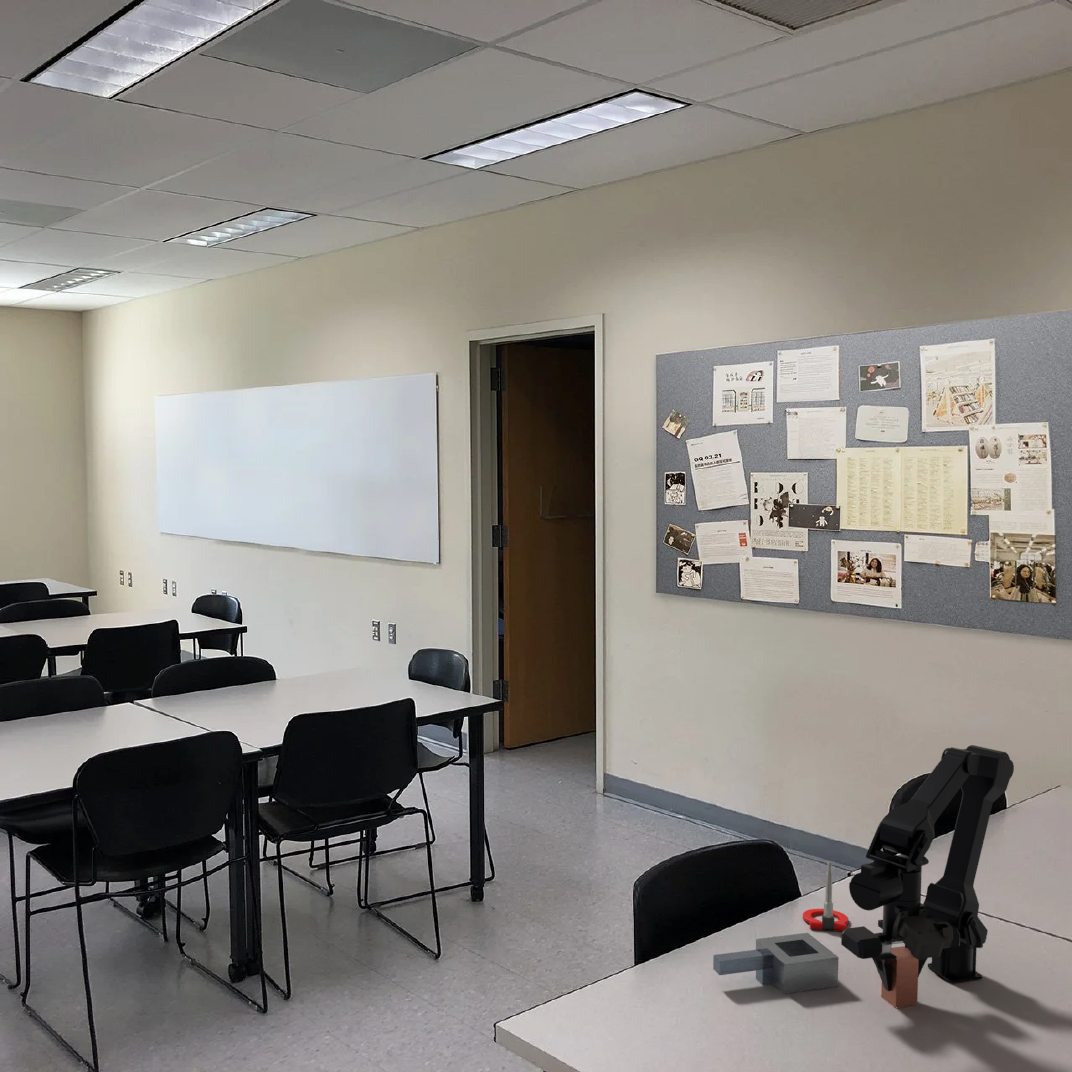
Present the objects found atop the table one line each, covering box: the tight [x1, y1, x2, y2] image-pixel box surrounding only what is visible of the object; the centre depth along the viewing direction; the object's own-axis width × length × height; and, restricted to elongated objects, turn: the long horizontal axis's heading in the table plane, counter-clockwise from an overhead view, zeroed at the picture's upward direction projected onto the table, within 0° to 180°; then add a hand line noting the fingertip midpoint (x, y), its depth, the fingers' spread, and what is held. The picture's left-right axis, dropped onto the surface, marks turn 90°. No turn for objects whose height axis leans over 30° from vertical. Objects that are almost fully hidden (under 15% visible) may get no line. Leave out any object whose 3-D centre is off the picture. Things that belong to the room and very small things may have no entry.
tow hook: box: [802, 861, 849, 932], centre depth 210 cm, size 8×13×9 cm
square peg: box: [880, 945, 919, 1009], centre depth 179 cm, size 4×4×8 cm
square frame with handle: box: [712, 932, 839, 994], centre depth 186 cm, size 20×10×5 cm, turn 106°
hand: (899, 988), depth 179 cm, fingers closed on square peg, 4 cm apart
